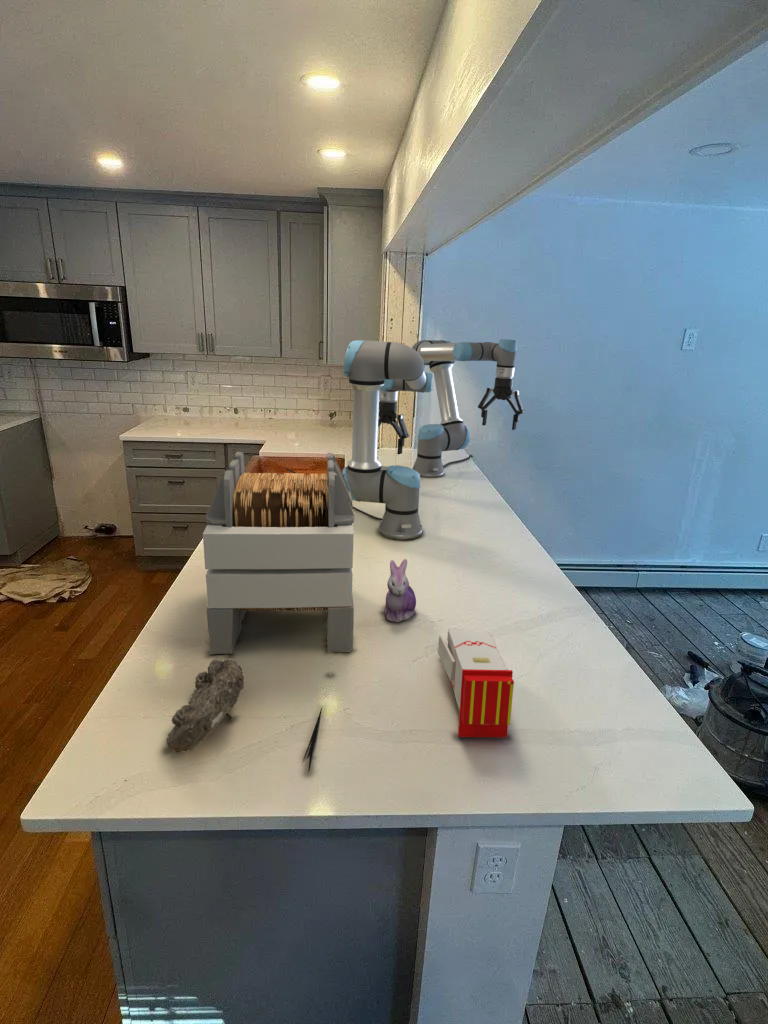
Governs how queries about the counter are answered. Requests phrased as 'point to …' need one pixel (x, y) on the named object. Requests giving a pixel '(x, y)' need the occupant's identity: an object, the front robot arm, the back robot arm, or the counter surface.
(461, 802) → the counter surface
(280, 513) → the record crate stand
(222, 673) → the fossil
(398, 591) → the figurine
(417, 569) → the counter surface
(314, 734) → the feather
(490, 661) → the toy
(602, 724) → the counter surface
